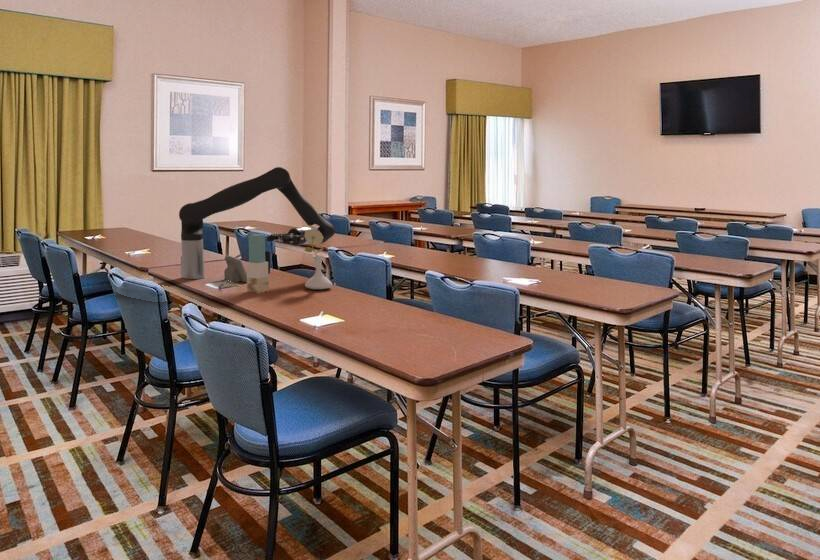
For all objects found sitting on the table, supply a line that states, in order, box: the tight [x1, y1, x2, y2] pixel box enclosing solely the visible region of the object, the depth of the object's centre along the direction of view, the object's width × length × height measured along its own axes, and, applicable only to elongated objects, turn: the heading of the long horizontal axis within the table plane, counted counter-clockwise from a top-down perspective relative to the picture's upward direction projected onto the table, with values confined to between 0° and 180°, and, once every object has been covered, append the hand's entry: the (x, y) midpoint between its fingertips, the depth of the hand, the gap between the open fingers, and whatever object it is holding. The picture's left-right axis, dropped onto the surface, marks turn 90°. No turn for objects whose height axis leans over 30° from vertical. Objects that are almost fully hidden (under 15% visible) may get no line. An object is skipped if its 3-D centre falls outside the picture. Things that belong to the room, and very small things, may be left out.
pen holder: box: [265, 250, 272, 275], centre depth 309 cm, size 9×9×10 cm
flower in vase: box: [303, 229, 333, 290], centre depth 271 cm, size 13×11×25 cm
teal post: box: [247, 233, 266, 263], centre depth 263 cm, size 4×4×11 cm
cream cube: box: [246, 261, 269, 279], centre depth 264 cm, size 6×6×6 cm
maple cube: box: [246, 276, 270, 294], centre depth 265 cm, size 6×6×6 cm
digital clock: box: [223, 255, 247, 283], centre depth 289 cm, size 16×9×11 cm, turn 23°
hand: (275, 239), depth 272 cm, fingers open, 8 cm apart
